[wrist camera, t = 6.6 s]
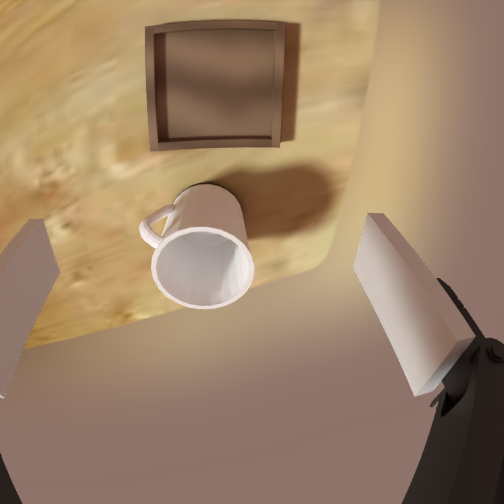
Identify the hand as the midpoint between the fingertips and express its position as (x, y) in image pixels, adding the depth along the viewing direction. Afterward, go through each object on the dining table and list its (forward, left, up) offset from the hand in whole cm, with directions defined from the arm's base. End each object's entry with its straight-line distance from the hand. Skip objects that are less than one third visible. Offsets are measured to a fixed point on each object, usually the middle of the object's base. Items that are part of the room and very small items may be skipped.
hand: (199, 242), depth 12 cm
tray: (-5, 0, -21) cm, 22 cm away
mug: (+9, -2, -21) cm, 24 cm away
